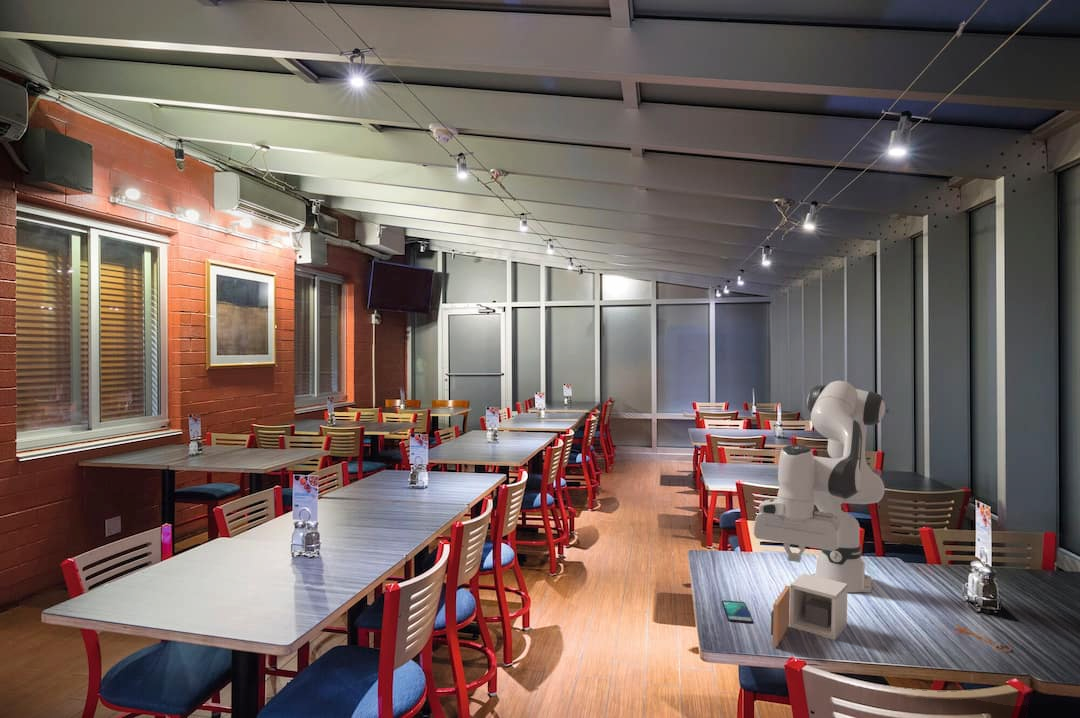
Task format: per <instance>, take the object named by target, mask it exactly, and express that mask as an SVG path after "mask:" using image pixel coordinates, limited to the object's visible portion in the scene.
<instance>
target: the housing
mask: <svg viewBox="0 0 1080 718" xmlns="http://www.w3.org/2000/svg"><path fill="white" fill-rule="evenodd" d="M789 586H790V611H789V627H790V628H794V629H797V630H800V631H803V632H804V631H805V632H808V633H811V634H814V635H817V636H821V637H824V638H828V639H831V640H834V641H836V639H837V638H838V637H839V636H840V634H842V632H843V631H844V629H846V628H847V624H848V622H847V621H848V619H847V618H848V592H847V584H846V583H842V582H838V581H833V580H829V579H825V578H821V577H817V576H813V575H812V574H807V573H802V574H801V575H800V576H799V577H797V578H796V579H795V580H794V581H792V582H791V583H790V585H789Z"/></svg>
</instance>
